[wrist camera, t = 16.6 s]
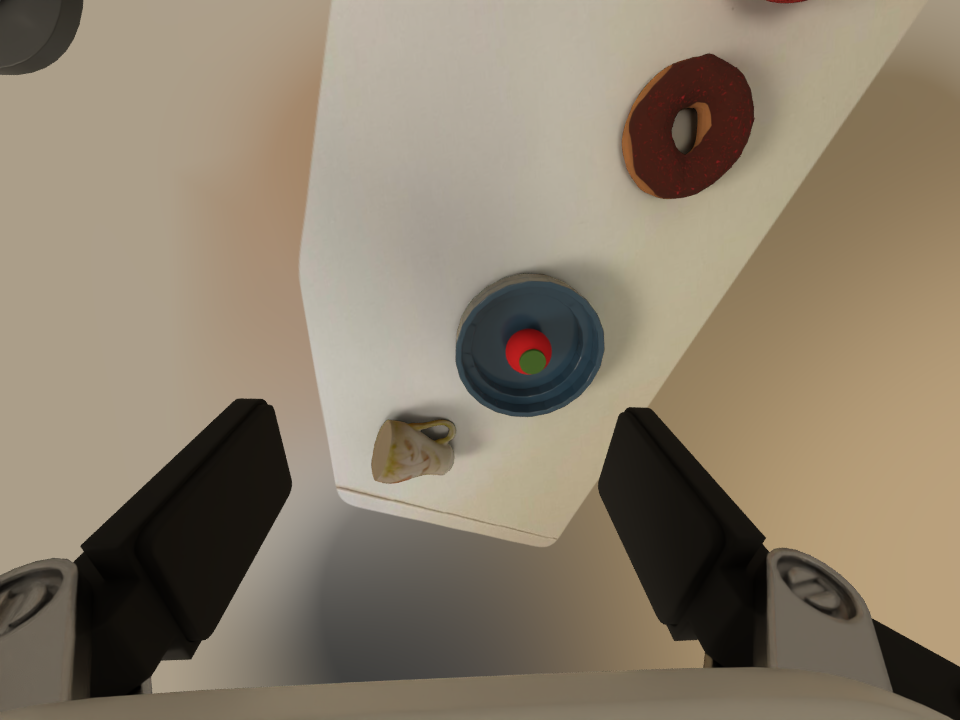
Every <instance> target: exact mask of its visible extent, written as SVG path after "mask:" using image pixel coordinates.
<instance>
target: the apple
mask: <svg viewBox="0 0 960 720" xmlns="http://www.w3.org/2000/svg"><path fill="white" fill-rule="evenodd" d="M766 1H770V2H776V3H795V2H802V1H806V0H766Z"/></svg>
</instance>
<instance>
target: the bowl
mask: <svg viewBox="0 0 960 720" xmlns="http://www.w3.org/2000/svg"><path fill="white" fill-rule="evenodd" d="M523 329H535V330H538V331H540V332H541V333H543V334H544V335H545V336H546V337H547V338H548V340H549V342H550V344H551V348H552V355H551V359H550V362H549V363H548V365H547V366H546V367H545V368H544V369H543V370H542V371H541V372H539V373H537V374H531V375H527V374H521V373H519V372H517V371H515V370H514V369H513V368H512V367H511V366H510V365H509V363H508V361H507V358H506V345H507V342H508V340H509V339H510V338H511V336H512V335H513V334H515V333H516V332H518V331H520V330H523ZM603 353H604V332H603V328H602V325H601V323H600V320H599V317H598V315H597V313H596V312H595V310H594V309H593V308H592V307H591V305H590V304H589V303H588V301H587V300H586V299H585V298H584V297H583V296H581V295H580V294H579V293H578V292H577V291H575V290H574V289H573V288H571V287H570V286H568V285H567V284H566V283H564V282H563V281H561V280H558V279H556V278H553V277H550V276H547V275H543V274H527V273H523V274H519V275H514V276H509V277H505V278H503V279H501V280H499V281H497V282H495V283H493V284H491V285H489V286H487V287H486V288H485V289H484V290H482V291H481V292H480V293H479V294H478V295H477V296H476V297H474V298H473V299H472V301H471V302H470V304H469V305H468V307H467V308H466V310H465V311H464V313H463V315H462V317H461V320H460V323H459V326H458V329H457V337H456V365H457V369H458V373H459V377H460V379H461V381H462V382H463V384H464V386H465V387H466V389H467V391H468V392H469V393H470V394H471V395H472V396H473V397H474V398H475V399H476V400H477V401H478V402H479V403H480V404H482V405H484V406H486V407H488V408H489V409H491V410H493V411H495V412H498V413H502V414H506V415H509V416H517V417H533V416H538V415H543V414H548V413H551V412H553V411H555V410H558V409H560V408H562V407H564V406H566V405H568V404H569V403H570V402H572V401H573V400H575V399H576V398H578V397H579V396H580V395H581V394H582V393H583V392H584V391H585V390H586V388H587V387H588V386H589V385H590V384H591V382H592V381H593V379H594V377H595V376H596V374H597V372H598V370H599V368H600V366H601V362H602V357H603Z"/></svg>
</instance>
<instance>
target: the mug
mask: <svg viewBox="0 0 960 720" xmlns="http://www.w3.org/2000/svg"><path fill="white" fill-rule="evenodd" d="M437 425H445V426H447V427H448V428H449V433H448V435H447V437H446V438H441V439H438V440H432V439H430V438H429V437H427V436H426V435H424V434H423V433H422V432H421V430H423V429H426V428H429V427H433V426H437ZM455 434H456V430H455V426H454V425H453V423H451V422H449V421H447V420H435V421H430V422H425V423H410V424H407V423H405V422H402V421H393V420H387V421H386V422H384V424H383V426H382V427H381V429H380V431H379V433H378V435H377V438H376V441H375V445H374V450H373V456H372V463H371V466H372V474H373V477H374V480H375V481H378V482H382V483H390V484H391V483H399V482H402V481H406V480H409V479H412V478H415V477H418V476H422V475H444V474H446V473H447V472H448V471H449V470H450V469H451V468H452V466H453V464H454V451H453V449H452V448H451V446H450V445H449V444H448V442H449V441H450V440H452V439H453V438H454V436H455Z"/></svg>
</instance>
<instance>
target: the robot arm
mask: <svg viewBox="0 0 960 720" xmlns="http://www.w3.org/2000/svg"><path fill="white" fill-rule="evenodd" d="M291 487H292V480H291V476H290V472H289V468H288V463H287V459H286V455H285V451H284V447H283V443H282V439H281V435H280V431H279V427H278V423H277V419H276V415H275V411H274V408H273V406H272V405H268V404H267V402H266V401H265V400H263V399H236V400H235V401H233V402H232V403H231V404H230V405H229V406H228V407H227V408H226V409H225V410H224V411H223V412H222V413H221V414H220V415H219V416H218V417H217V418H215V419H214V420H213V421H212V422H211V423H210V424H209V425H208V426H207V427H206V428H205V429H204V430H203V431H202V432H201V433H200V434H198V436H196V437H195V439H193V440H192V441H191V442H190V443H189V444H188V445H187V446H186V447H185V448H184V449H183V450H182V451H180V452H179V453H178V454H177V455H176V456H175V457H174V458H173V459H172V460H171V461H170V462H169V463H168V464H167V465H166V466H165V467H163V468H162V469H161V470H160V471H159V472H158V473H157V474H156V475H155V476H154V477H153V478H152V479H151V480H150V481H149V482H148V483H146V485H144V486H143V487H142V488H141V489H140V490H139V491H138V492H137V493H136V494H135V495H134V496H133V497H132V498H131V499H130V500H128V501H127V503H125V504H124V505H123V506H122V507H121V508H120V509H119V510H118V511H117V512H116V513H115V514H114V515H113V516H111V517H110V518H109V519H108V520H107V521H106V522H105V523H104V524H103V525H102V526H101V527H100V528H99V529H98V530H97V531H96V532H94V534H92V535H91V536H90V537H89V538H88V539H87V540H86V541H85V542H84V543H83V544H82V545H81V548H82V549H83V551H84V552H83V553H82V554H81V555H80V556H79V557H78V558H77V559H76V560H75V561H74V562H71V561H70V560H68V559H60V558H51V559H46V560H40V561H35V562H32V563H30V564H26V565H24V566H21V567H18V568H15V569H13V570H11V571H9V572H7V573H4V574H2V575H0V720H960V667H959V666H957V665H955V664H954V663H952V662H950V661H948V660H946V659H945V658H943V657H941V656H939V655H937V654H936V653H934V652H932V651H930V650H928V649H927V648H924V647H923V646H921V645H919V644H918V643H916V642H914V641H912V640H910V639H908V638H907V637H905V636H903V635H901V634H899V633H898V632H896V631H894V630H892V629H890V628H889V627H887V626H885V625H883V624H881V623H880V622H878V621H876V620H874V619H872V618H871V615H870V612H869V610H868V608H867V605H866V603H865V601H864V600H863V598H862V597H861V596H860V594H859V593H858V592H857V591H856V589H855V588H854V587H853V586H852V585H851V584H850V583H849V582H848V581H847V580H846V579H845V578H843V577H842V576H841V575H840V574H839V573H838V572H836V571H835V570H833V569H832V568H830V567H829V566H828V565H826V564H825V563H823V562H821V561H819V560H818V559H816V558H814V557H812V556H811V555H808V554H805V553H803V552H800V551H798V550H793V549H788V548H777V549H773V550H772V551H771V552H769V551H768V550H767V549H766V548H765V547H764V545H763V544H762V543H763V542H764V540H765V539H766V537H765V536H764V535H763V534H762V533H761V532H760V531H759V530H758V528H756V526H755V525H754V524H753V523H752V522H751V521H750V520H749V518H748V517H747V516H746V515H745V514H744V513H743V512H742V510H740V508H739V507H738V506H737V505H736V504H735V503H734V501H733V500H732V499H731V498H730V497H729V496H728V495H727V494H726V492H725V491H724V490H723V489H722V488H721V487H720V486H719V485H718V484H717V482H716V481H715V480H714V479H713V478H712V477H711V476H710V474H709V473H708V472H707V471H706V470H705V469H704V468H703V467H702V465H701V464H700V463H699V462H698V461H697V460H696V459H695V458H694V456H693V455H692V454H691V453H690V452H689V451H688V450H687V448H685V446H684V445H683V444H682V443H681V442H680V441H679V440H678V439H677V437H676V436H675V435H674V434H673V433H672V432H671V431H670V429H669V428H668V427H667V426H666V425H665V424H664V423H663V422H662V420H661V419H660V418H659V417H658V416H657V415H656V414H655V412H654V411H652V410H651V409H650V408H636V407H629V408H627V409H626V410H625V412H622V413H620V414H619V416H618V420H617V423H616V426H615V429H614V433H613V436H612V439H611V442H610V446H609V449H608V452H607V455H606V459H605V462H604V465H603V469H602V472H601V475H600V478H599V482H598V489H599V494H600V496H601V498H602V501H603V503H604V505H605V507H606V509H607V511H608V513H609V516H610V517H611V520H612V522H613V524H614V526H615V528H616V530H617V533H618V535H619V537H620V539H621V541H622V543H623V545H624V547H625V550H626V552H627V554H628V556H629V558H630V560H631V563H632V565H633V567H634V569H635V571H636V573H637V575H638V577H639V580H640V582H641V584H642V586H643V588H644V590H645V592H646V595H647V596H648V599H649V601H650V603H651V605H652V607H653V609H654V611H655V614H656V616H657V617H658V619H659V620H660V622H661V623H663V624H665V625H667V627H668V629H669V631H670V633H671V635H672V637H673V639H674V641H683V640H697V639H698V640H699V642H700V644H701V645H702V647H703V649H704V651H705V657H704V666H703V668H685V669H684V668H683V669H652V670H627V671H602V672H576V673H553V674H528V675H508V676H507V675H506V676H505V675H504V676H483V677H460V678H439V679H416V680H397V681H396V680H394V681H373V682H355V683H354V682H352V683H334V684H313V685H296V686H295V685H294V686H274V687H256V688H235V689H215V690H198V691H184V692H170V693H156V694H152V684H151V676H152V674H153V672H154V671H155V669H156V668H157V666H158V664H159V663H160V661H161V660H188V659H192V657H193V655H194V653H195V651H196V650H197V648H198V646H199V644H200V643H201V641H202V640H206V639H207V638H209V637H210V636H211V634H212V633H213V632H214V630H215V628H216V627H217V625H218V623H219V621H220V619H221V618H222V615H223V614H224V612H225V610H226V609H227V607H228V605H229V603H230V601H231V600H232V598H233V596H234V594H235V592H236V590H237V589H238V587H239V584H240V583H241V581H242V580H243V578H244V576H245V574H246V572H247V571H248V569H249V567H250V565H251V563H252V562H253V560H254V558H255V556H256V554H257V552H258V551H259V549H260V547H261V545H262V543H263V541H264V540H265V538H266V536H267V534H268V532H269V531H270V529H271V527H272V525H273V523H274V522H275V520H276V518H277V516H278V514H279V513H280V511H281V509H282V507H283V505H284V503H285V502H286V500H287V498H288V496H289V494H290V491H291Z"/></svg>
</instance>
